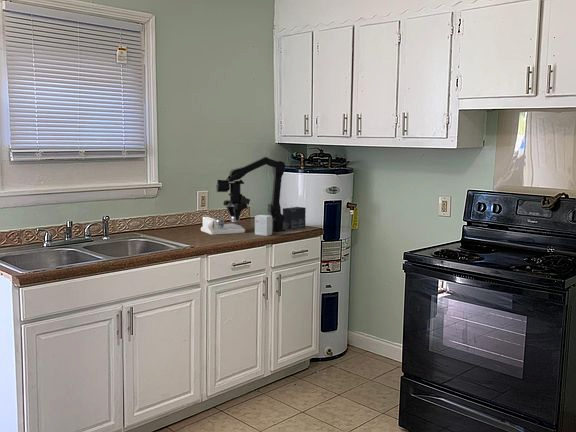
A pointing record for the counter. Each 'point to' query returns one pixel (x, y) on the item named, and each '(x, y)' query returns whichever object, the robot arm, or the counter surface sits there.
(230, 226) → the pan
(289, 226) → the small box
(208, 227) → the scale
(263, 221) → the small box
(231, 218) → the steel cup
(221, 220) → the spacer on pan
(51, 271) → the counter surface
